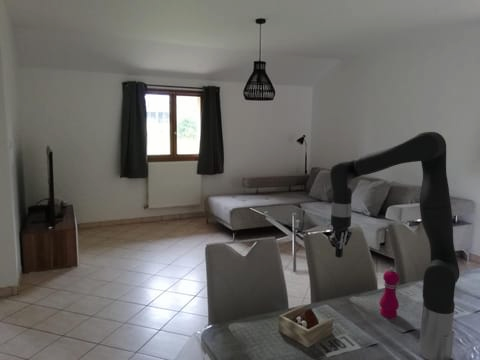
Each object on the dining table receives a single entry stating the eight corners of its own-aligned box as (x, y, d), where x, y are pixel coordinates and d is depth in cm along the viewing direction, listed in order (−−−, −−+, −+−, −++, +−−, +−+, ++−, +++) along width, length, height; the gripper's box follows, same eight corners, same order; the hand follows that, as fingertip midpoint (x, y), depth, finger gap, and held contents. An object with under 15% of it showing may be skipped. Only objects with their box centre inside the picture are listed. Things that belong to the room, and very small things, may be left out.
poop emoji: (325, 335, 144) (326, 311, 143) (305, 340, 141) (306, 316, 139) (310, 322, 153) (311, 299, 152) (291, 326, 150) (292, 303, 148)
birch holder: (332, 333, 145) (333, 318, 144) (307, 347, 136) (308, 331, 135) (302, 318, 156) (303, 304, 155) (278, 330, 147) (278, 315, 146)
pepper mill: (399, 319, 156) (403, 272, 152) (380, 317, 157) (383, 270, 154) (396, 311, 163) (399, 265, 159) (377, 309, 164) (381, 263, 161)
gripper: (339, 218, 144) (336, 263, 147) (359, 213, 153) (356, 255, 155) (322, 214, 150) (320, 258, 152) (342, 209, 158) (340, 250, 161)
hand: (338, 256), depth 154 cm, fingers closed
